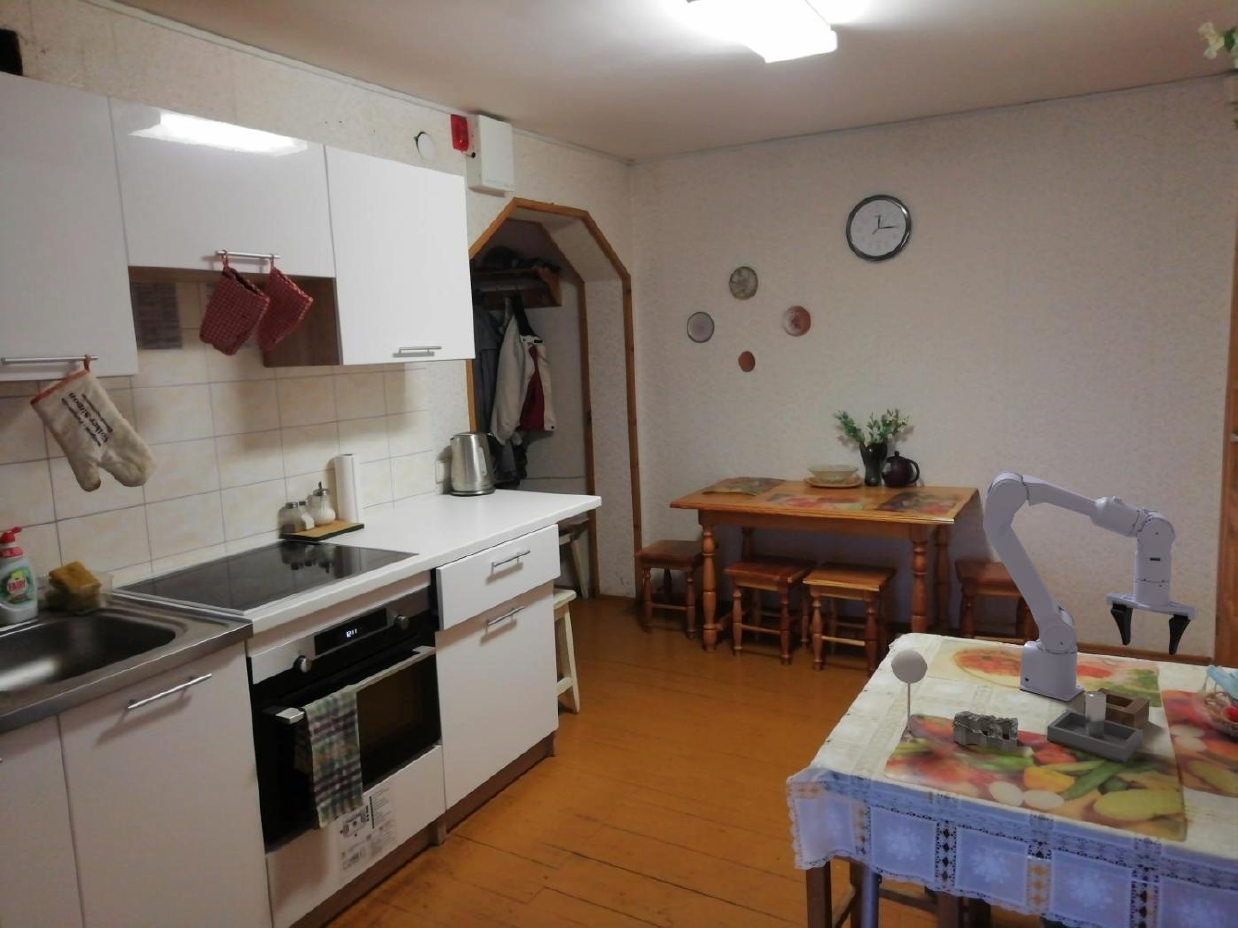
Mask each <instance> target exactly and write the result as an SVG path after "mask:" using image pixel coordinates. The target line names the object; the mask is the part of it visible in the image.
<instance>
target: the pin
mask: <svg viewBox="0 0 1238 928" xmlns="http://www.w3.org/2000/svg"><path fill="white" fill-rule="evenodd" d="M1085 700H1086V709H1085V735H1086V736H1089V737H1093V738H1096V739H1100V740H1103V741H1105V714H1106V695H1105V694H1104V693H1102V692H1098V690H1088V691H1086V692H1085Z"/></svg>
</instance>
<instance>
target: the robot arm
mask: <svg viewBox="0 0 1238 928" xmlns="http://www.w3.org/2000/svg"><path fill="white" fill-rule="evenodd" d="M986 493H987V494H986V498H985V504H984V506H985V507H984V513H983V521H982V522H983V523H982V529H983V531H984V533H985V535H986V537H987V538H988V539H989V542H990V543H991V545H992V547H993V549H995V553H997V554H998V557H999V558H1000V561H1001V562H1002V563H1003V565H1004V567H1005V568H1006V570H1007V572H1008V574H1009V576H1010V578H1011V579H1012V581H1013V582H1014V584H1015V585H1016V588H1017V590H1018V591H1019V593H1020V594H1021V596H1022V598H1023V599H1024V601H1025V603H1026V604H1027V606H1028V607H1029V610H1030V612H1031V614H1032V615H1031V616H1032V617H1033V620H1034V622H1035V624H1036V625H1037V627H1038V631H1039V632H1038V633H1039V637H1038V639H1036V640H1035V641H1033V640H1027V641H1026V642H1025V644H1024V645H1023V648H1022V650H1021V654H1020V674H1019V675H1020V681H1019V685H1018V689H1021V690H1024V691H1027V692H1031V693H1035V694H1039V695H1041V696H1046V697H1050V698H1053V699H1057V700H1061V701H1065V702H1070V701H1071V700H1073V699H1074V698H1075V697H1076V696H1078V695H1079V694H1080V693H1081V692H1082V691H1084V690H1085V687H1084V686H1082V685H1077V673H1078V667H1077V666H1078V649H1079V648H1078V645H1077V641H1078V639H1077V638H1078V636H1077V632H1076V630H1075V621H1074V617H1073V615H1072V613H1070V612H1069V611H1068V610H1066V609H1065V608H1064V607H1062V606H1061V605H1060V603H1059V602H1058V600H1057V599H1056V597H1055V596H1053V594H1052V593H1051V591H1050V590H1049V588H1048V586H1047V585H1046V583H1045V580H1044V579H1043V578H1042V576H1041V575H1040V573H1039V571H1038V569H1037V568H1036V566H1035V564H1034V562H1033V561H1032V559H1031V557H1030V556H1029V554H1028V553H1027V550H1026V549H1025V547H1024V546H1023V544H1022V543H1021V540H1020V539H1019V537H1018V536H1017V534H1016V532H1015V531H1014V529H1013V527H1012V523H1013V520H1014V518H1015V515H1016V514H1017V513H1018V511H1020V509H1021V508H1022V507H1023V506H1024V505H1025V503H1026V501H1028V507H1030V506H1035V505H1039V504H1044V503H1046V504H1050V505H1053V506H1055V507H1060V508H1063V509H1066V510H1069V511H1071V512H1075V513H1079V514H1082V515H1085V516H1087V517H1089V518H1090V520H1091V523H1092V524H1093V526H1096V527H1097V528H1101V529H1105V530H1106V531H1107V530H1108V531H1110V532H1113V533H1116V534H1118V535H1120V536H1124V537H1126V538H1134V539H1135V538H1136V548H1135V550H1136V551H1135V552H1134V565H1133V566H1134V567H1133V568H1134V569H1133V570H1134V571H1133V592H1132V593H1133V594H1128V593H1127V594H1126V593H1125V594H1124V593H1114V592H1109V593H1107V594H1106V599H1105V600H1106V601H1105V602H1106V603H1105V604H1106V605H1107V606H1112V607H1111V608H1110V614H1111V616H1112V617H1113V619H1114V621H1115V623H1116V626H1117V628H1118V631H1119V634H1120V638H1121V642H1122V645H1123V646H1125V647H1126V646H1129V644H1130V643H1131V640H1132V639H1131V638H1132V637H1131V636H1132V634H1131V633H1132V626H1131V625H1132V619H1133V618H1132V617H1133V610H1134V609H1135V610H1136V609H1137V610H1139V611H1140V610H1141V611H1145V612H1153V613H1157V614H1162V615H1163V614H1164V615H1169V616H1171V618H1169V619H1168V629H1169V645H1168V655H1170V656H1174V655H1175V654H1177V651H1178V648H1179V644H1180V641H1181V639H1182V636H1183V635H1184V632H1185V631H1186V630H1187V628H1188V626H1189V625H1190V622H1191V621H1196V620H1197V619H1198V618H1199V607H1198V606H1193V605H1187V604H1183V603H1180V602H1176V601H1174V600H1170V597H1171V578H1172V577H1171V574H1172V557H1173V556H1172V554H1171V551H1172V544H1173V543H1174V541H1175V540H1176V537H1177V534H1176V532H1175V528H1174V526H1173V524H1172V523H1171V522H1170V521H1169V519H1168V518H1167V516H1166V515H1164V514H1162V513H1161V512H1158V511H1157V510H1154V509H1150V508H1148V507H1145V506H1143V507H1142V508H1140V507H1137V506H1134V505H1131V504H1129V503H1125V502H1123V501H1122V498H1121V497H1120V496H1116V495H1114V496H1113V497H1112V498H1111V497H1109V496H1104V497H1101V498H1098V499H1094V498H1091V497H1088V496H1086V495H1083V494H1082V493H1081V494H1080V493H1078V492H1075V491H1073V490H1070V489H1067V488H1064V487H1062V486H1059V485H1058V484H1054V483H1052V482H1049V481H1047V480H1045V479H1042V478H1038V477H1035V476H1031V475H1028V474H1023V475H1022V474H1019V473H1018V472H1016V471H1011V470H1005V471H1002V472H1000V473H998V474H997V475H995V476H994V478H993V479H992V481H991V483H990V485H989V487H988V489H987V492H986Z"/></svg>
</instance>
